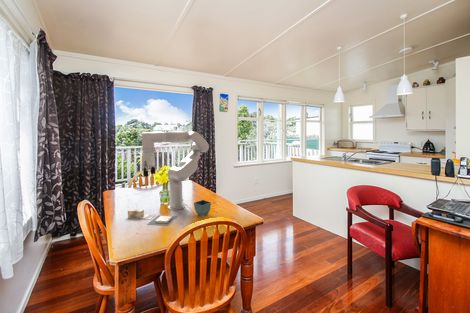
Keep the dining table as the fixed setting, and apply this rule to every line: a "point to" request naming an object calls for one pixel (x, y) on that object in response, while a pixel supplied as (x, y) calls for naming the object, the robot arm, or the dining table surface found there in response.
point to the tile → (163, 219)
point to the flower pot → (202, 207)
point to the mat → (161, 223)
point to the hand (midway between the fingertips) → (149, 175)
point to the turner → (138, 214)
